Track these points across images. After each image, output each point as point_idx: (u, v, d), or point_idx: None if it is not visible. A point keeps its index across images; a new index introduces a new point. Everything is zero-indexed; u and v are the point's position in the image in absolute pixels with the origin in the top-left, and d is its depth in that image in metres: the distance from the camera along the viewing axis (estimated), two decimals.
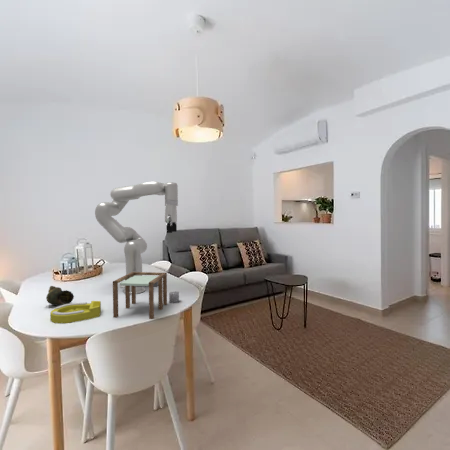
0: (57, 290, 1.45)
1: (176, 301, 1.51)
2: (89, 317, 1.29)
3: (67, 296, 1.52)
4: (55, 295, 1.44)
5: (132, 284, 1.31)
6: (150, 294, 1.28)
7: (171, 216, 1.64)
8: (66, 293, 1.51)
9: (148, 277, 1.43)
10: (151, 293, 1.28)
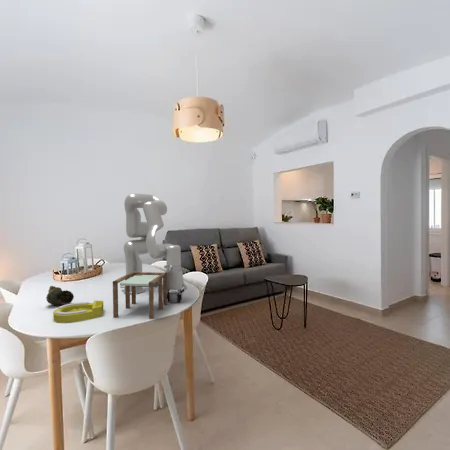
0: (57, 290, 1.45)
1: (176, 301, 1.51)
2: (92, 317, 1.30)
3: (67, 296, 1.52)
4: (55, 295, 1.44)
5: (132, 284, 1.31)
6: (150, 294, 1.28)
7: (183, 281, 1.54)
8: (66, 293, 1.51)
9: (148, 277, 1.43)
10: (151, 293, 1.28)
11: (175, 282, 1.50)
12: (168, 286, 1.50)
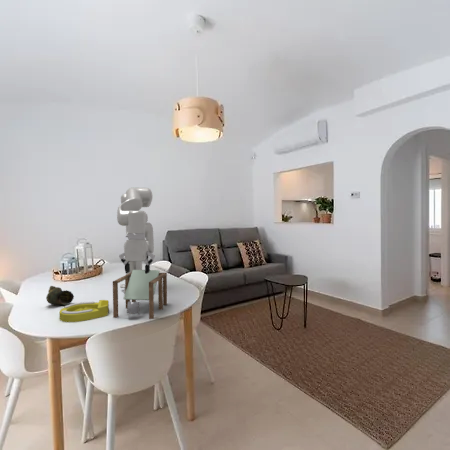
0: (57, 290, 1.45)
1: None
2: (98, 316, 1.30)
3: (67, 296, 1.52)
4: (55, 295, 1.44)
5: (135, 299, 1.35)
6: (150, 294, 1.28)
7: None
8: (66, 293, 1.51)
9: (147, 276, 1.42)
10: (151, 293, 1.28)
11: (138, 252, 1.31)
12: (130, 257, 1.31)
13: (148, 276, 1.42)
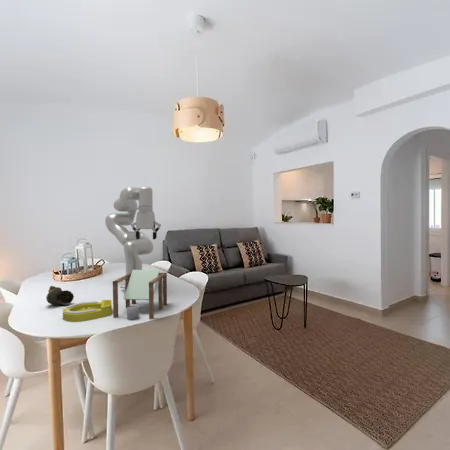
0: (57, 290, 1.45)
1: None
2: (101, 315, 1.31)
3: (67, 296, 1.52)
4: (55, 295, 1.44)
5: (135, 299, 1.35)
6: (150, 294, 1.28)
7: None
8: (66, 293, 1.51)
9: (147, 276, 1.42)
10: (151, 293, 1.28)
11: (147, 221, 1.57)
12: (140, 225, 1.58)
13: (148, 276, 1.42)
